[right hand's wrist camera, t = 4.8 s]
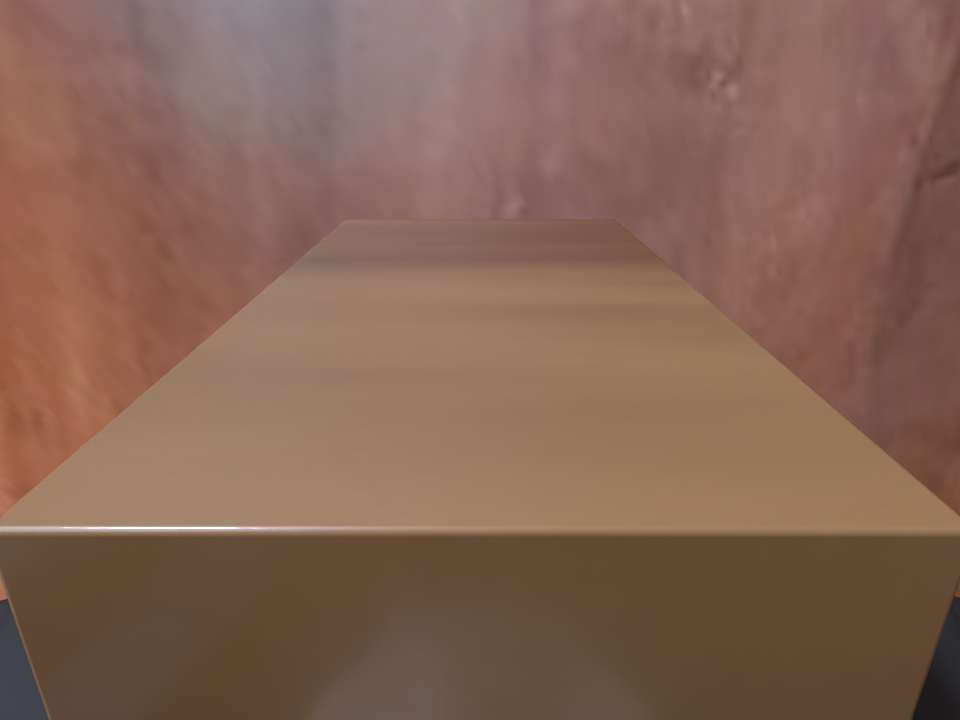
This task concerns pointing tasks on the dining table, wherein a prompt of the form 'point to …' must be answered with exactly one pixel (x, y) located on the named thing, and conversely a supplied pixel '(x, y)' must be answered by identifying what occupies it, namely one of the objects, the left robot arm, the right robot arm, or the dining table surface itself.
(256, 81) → the dining table surface
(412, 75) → the dining table surface
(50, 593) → the box
